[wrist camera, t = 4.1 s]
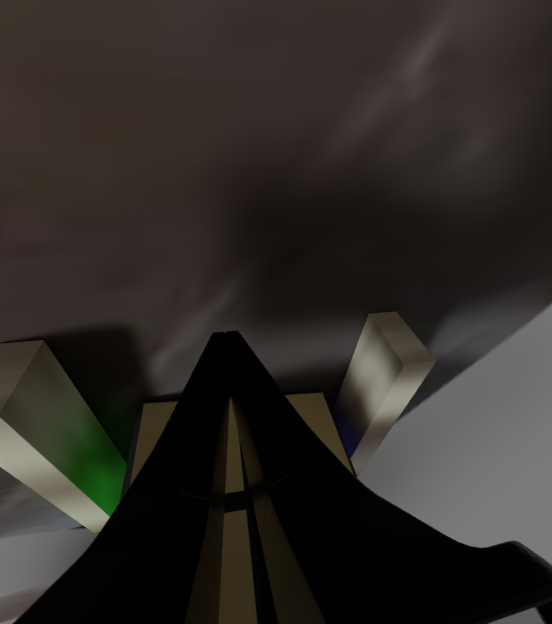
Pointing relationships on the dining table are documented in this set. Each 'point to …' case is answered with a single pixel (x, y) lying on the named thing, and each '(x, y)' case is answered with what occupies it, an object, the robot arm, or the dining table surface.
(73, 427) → the lane rails
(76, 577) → the robot arm
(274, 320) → the dining table surface
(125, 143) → the dining table surface
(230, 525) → the puzzle cube
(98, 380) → the dining table surface
